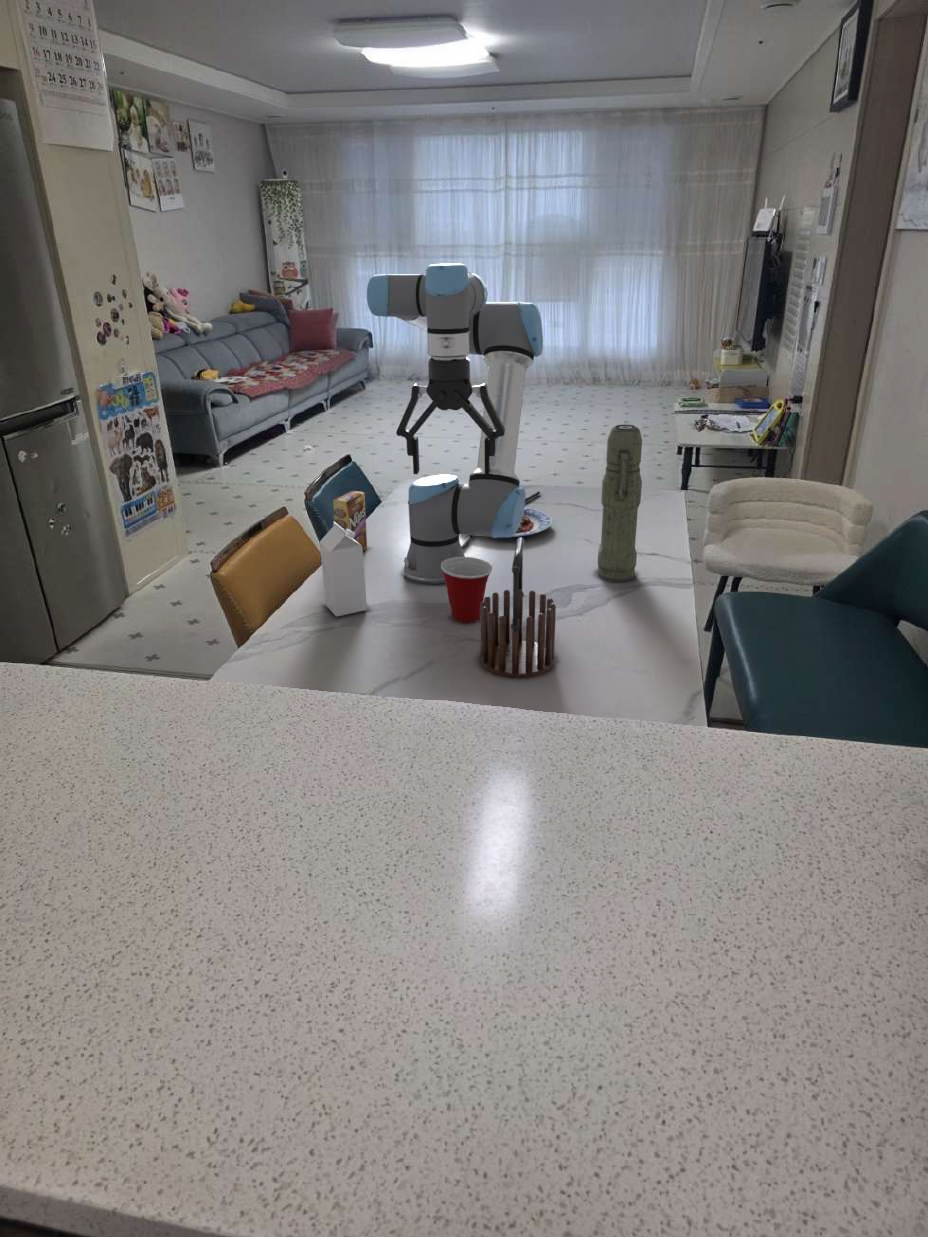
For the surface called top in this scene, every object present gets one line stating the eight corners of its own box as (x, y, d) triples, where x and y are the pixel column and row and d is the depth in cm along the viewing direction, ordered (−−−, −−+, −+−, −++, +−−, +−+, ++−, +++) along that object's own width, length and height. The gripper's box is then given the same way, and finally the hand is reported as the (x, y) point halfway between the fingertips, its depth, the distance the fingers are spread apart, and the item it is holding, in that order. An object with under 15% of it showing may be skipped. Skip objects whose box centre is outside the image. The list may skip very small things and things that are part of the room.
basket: (483, 535, 156) (558, 537, 155) (484, 639, 165) (554, 642, 164) (475, 566, 142) (556, 568, 140) (476, 679, 151) (553, 682, 149)
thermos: (631, 565, 201) (641, 420, 186) (638, 584, 190) (650, 432, 175) (594, 565, 201) (602, 421, 186) (599, 584, 190) (608, 432, 176)
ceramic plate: (568, 522, 231) (568, 511, 230) (524, 549, 212) (524, 538, 211) (489, 508, 244) (489, 499, 243) (441, 533, 225) (440, 523, 223)
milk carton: (336, 617, 176) (328, 533, 168) (325, 605, 182) (317, 524, 174) (367, 610, 179) (361, 527, 171) (355, 599, 185) (349, 518, 177)
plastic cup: (488, 630, 170) (487, 575, 164) (436, 626, 172) (435, 572, 167) (496, 608, 179) (496, 556, 174) (448, 605, 181) (446, 554, 176)
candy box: (350, 559, 208) (345, 501, 201) (336, 557, 209) (331, 499, 203) (368, 548, 215) (364, 491, 209) (354, 546, 217) (350, 490, 210)
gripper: (376, 360, 146) (383, 477, 155) (517, 359, 144) (516, 478, 153) (384, 354, 153) (390, 467, 162) (518, 353, 150) (517, 468, 159)
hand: (451, 472), depth 157 cm, fingers open, 13 cm apart
